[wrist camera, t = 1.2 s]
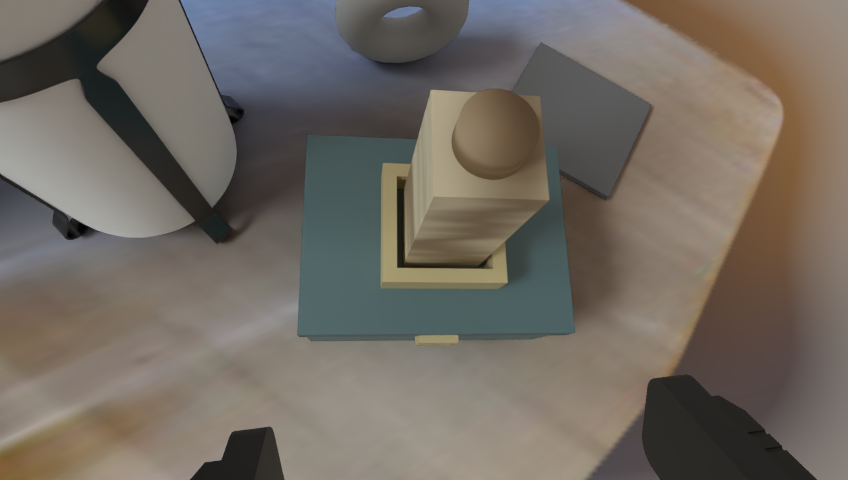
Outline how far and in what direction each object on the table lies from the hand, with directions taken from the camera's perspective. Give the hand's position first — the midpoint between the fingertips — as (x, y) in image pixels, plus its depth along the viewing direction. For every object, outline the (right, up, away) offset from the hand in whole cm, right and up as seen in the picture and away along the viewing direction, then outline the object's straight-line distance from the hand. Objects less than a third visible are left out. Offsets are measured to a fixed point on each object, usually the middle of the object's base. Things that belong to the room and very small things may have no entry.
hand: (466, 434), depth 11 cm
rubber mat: (+12, +14, +32) cm, 37 cm away
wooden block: (0, +5, +20) cm, 21 cm away
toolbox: (-1, +3, +27) cm, 27 cm away
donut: (-3, +20, +32) cm, 37 cm away
